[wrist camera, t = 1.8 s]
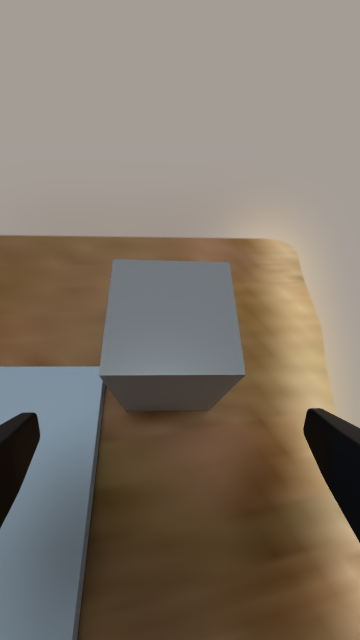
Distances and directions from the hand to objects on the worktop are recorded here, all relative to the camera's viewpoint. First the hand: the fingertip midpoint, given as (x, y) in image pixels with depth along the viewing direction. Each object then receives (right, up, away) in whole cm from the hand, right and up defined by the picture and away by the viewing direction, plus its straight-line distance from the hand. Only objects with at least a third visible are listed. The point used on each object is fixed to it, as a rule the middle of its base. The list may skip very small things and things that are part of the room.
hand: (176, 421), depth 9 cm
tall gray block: (-1, -1, +13) cm, 13 cm away
